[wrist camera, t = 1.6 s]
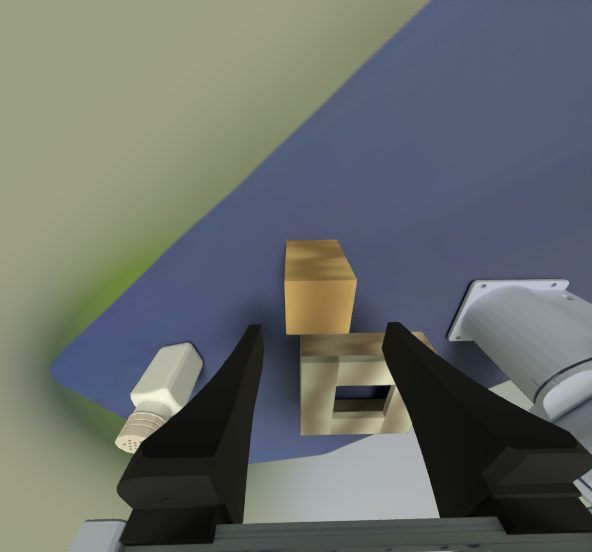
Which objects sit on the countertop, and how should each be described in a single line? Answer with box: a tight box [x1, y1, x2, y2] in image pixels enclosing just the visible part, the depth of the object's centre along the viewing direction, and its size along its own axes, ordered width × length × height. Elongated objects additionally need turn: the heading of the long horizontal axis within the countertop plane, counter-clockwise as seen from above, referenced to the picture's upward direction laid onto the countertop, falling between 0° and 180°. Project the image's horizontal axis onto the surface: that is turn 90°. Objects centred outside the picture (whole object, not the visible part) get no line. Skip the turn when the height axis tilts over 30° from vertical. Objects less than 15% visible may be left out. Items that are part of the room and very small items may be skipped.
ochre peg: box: [285, 240, 357, 335], centre depth 18 cm, size 4×4×7 cm
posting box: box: [300, 332, 438, 435], centre depth 27 cm, size 14×14×4 cm
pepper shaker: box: [115, 343, 203, 453], centre depth 23 cm, size 4×4×10 cm
